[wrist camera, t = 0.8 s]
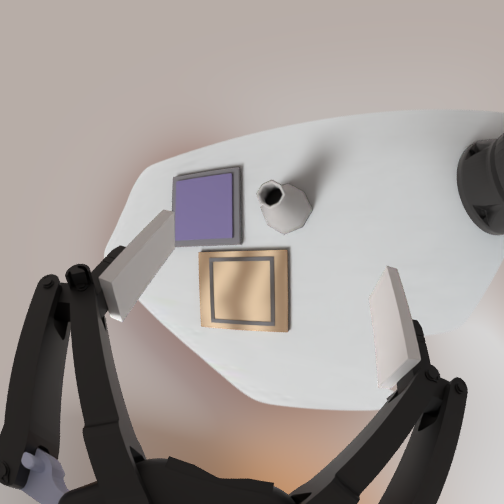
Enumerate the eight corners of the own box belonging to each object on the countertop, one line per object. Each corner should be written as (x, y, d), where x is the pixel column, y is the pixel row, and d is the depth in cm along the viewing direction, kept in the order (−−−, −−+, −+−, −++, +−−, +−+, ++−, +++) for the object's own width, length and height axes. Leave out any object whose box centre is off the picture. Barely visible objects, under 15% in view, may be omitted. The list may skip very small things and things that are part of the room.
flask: (252, 207, 41) (228, 193, 31) (288, 175, 39) (273, 151, 30) (283, 243, 40) (267, 239, 30) (321, 210, 38) (316, 195, 28)
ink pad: (240, 168, 42) (237, 166, 40) (241, 244, 41) (238, 244, 40) (175, 178, 45) (171, 176, 44) (174, 247, 45) (170, 246, 44)
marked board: (287, 249, 39) (286, 249, 39) (288, 331, 39) (287, 332, 38) (200, 252, 43) (198, 252, 43) (202, 325, 43) (200, 326, 42)
